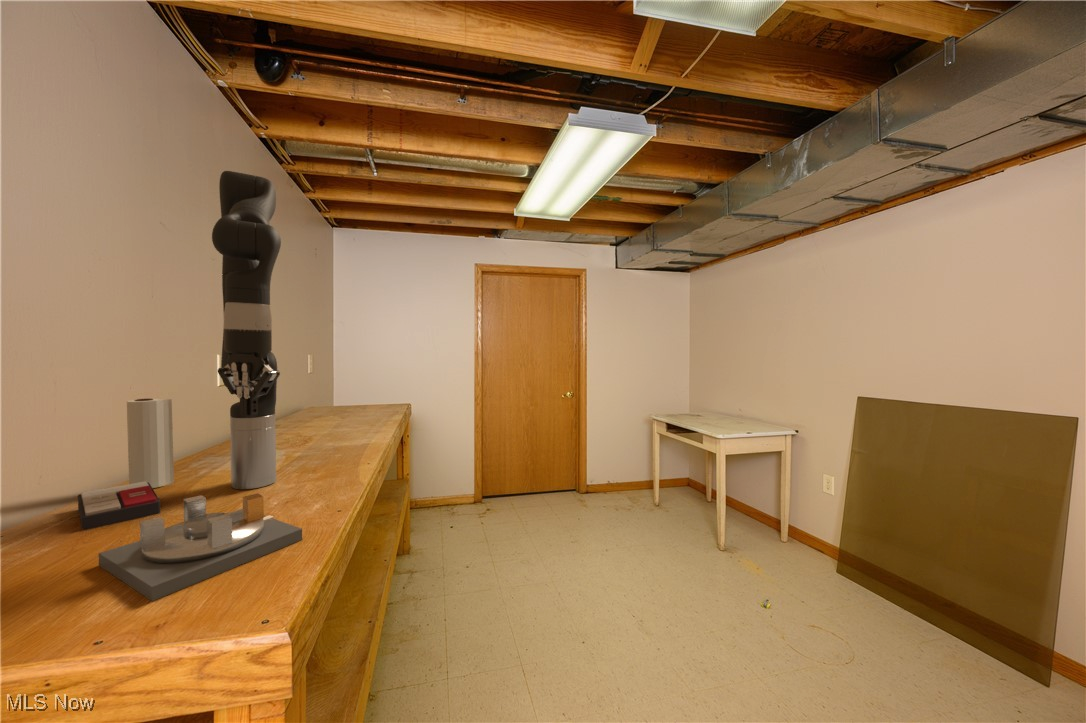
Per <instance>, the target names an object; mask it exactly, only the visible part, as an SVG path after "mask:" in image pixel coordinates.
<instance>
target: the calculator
mask: <svg viewBox="0 0 1086 723" xmlns="http://www.w3.org/2000/svg"><path fill="white" fill-rule="evenodd" d="M77 508H78V515H79V519H80V520H79V522H80V526H81V530H82V531H86V530H87V531H88V530H91V529H96V528H101V527H106V526H109V525H114V524H119V523H123V522H127V521H132V520H136V519H141V518H145V517H150V516H154V515H160V514H161V500H160V498H159V497H158V496H157V493H156V492H155V490H154V488H152V487H151V485H150V483H149V482H140V483H134V484H129V483H128V484H124V485H117V486H112V487H107V488H101V489H95V490H91V491H84V492H81V493H80V494H78V495H77Z"/></svg>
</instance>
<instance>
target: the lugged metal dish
mask: <svg viewBox="0 0 1086 723" xmlns="http://www.w3.org/2000/svg"><path fill="white" fill-rule="evenodd" d="M182 500H183V521H181V522H179V523H175V524H173V525H170V526H168V527H165V520H164V518H163V517H162V516H157V517H153V518H149V519H144V520H141V521H139V533H140V534H139V537H140V540H139V541H140V544H141V548H142V557H143V558H144V559H146V560H148V561H152V562H158V563H174V562H184V561H191V560H197V559H202V558H206V557H210V556H214V555H218V554H221V553H224V552H227V551H230V550H233V549H235V548H238V547H240V546H242V545H245V544H247V543H248V542H250V541H252V540H254V539H255V538H256V537H258V536H259V535H260V534H261V533H262V531H263V529H264V520H263V518H264V512H265V511H264V510H265V508H264V496H263V495H261V494H260V493H259V492H258V493H254V494H249V495H246V496H245V495H244V496H242V509H243V513H231V512H211V513H207V497H205V496H203V495H202V494H200V495H197V496H192V497H187V498H183V499H182Z"/></svg>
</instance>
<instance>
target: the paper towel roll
mask: <svg viewBox="0 0 1086 723" xmlns="http://www.w3.org/2000/svg"><path fill="white" fill-rule="evenodd" d="M126 422H127V452H128V456H127V457H128V458H127V459H128V484H134V483H140V482H149V483H150V485H151V487H152V488H153V489H157V488H160V487H164V486H168V485H174V483H175V475H174V474H175V473H174V472H175V471H174V467H175V466H174V437H173V436H174V435H173V433H174V432H173V398H168V399H160V398H137V399H132V400H127V401H126Z"/></svg>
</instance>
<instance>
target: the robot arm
mask: <svg viewBox="0 0 1086 723" xmlns="http://www.w3.org/2000/svg"><path fill="white" fill-rule="evenodd" d="M218 186H219V188H218V189H219V202H220V216H221V217H220V218H219V219H218V220H217V221H216V222H215V224H214V226H213V229H212V233H211V241H212V243H213V247H214V248H215V250H216V251H217V252H218V253H219V254H221V255H222V262H221V264H222V266H221V267H222V268H221V270H222V271H221V274H222V275H221V277H222V278H221V283H222V284H221V287H222V289H221V290H222V303H223V307H222V308H223V309H222V310H223V332H222V346H221V348H222V349H221V362H220V367H218V369H217V374H218V375H219V376H220V378H221V380H222V383H223V385H224V386H225V387H226V388H227V391H228V392H229V393H230V394H231V395H236V397H237V398H238V399H239V401H237V402H235V403H233V404H232V405H231V406H230V409H229V416H230V419H229V421H230V422H229V423H230V424H229V425H230V481H231V488H233V489H235V490H250V489H252V490H253V489H257V488H264V487H267V486H269V485H270V486H271V485H272V484H274V483H276V481H277V446H276V445H277V444H276V442H277V441H276V439H277V438H276V405H277V387H278V386H277V384H278V379H279V377H280V375H281V372H280V371H279V370H278V364H277V363H278V362H277V358H276V356H275V354H274V353H273V351H272V350H273V349H272V347H273V346H272V341H273V340H272V335H273V333H272V328H273V327H272V325H273V324H272V322H273V321H272V311H271V306H270V305H271V281H272V276H273V270H274V268H275V265H276V261H277V258H278V256H279V252H280V250H281V244H282V239H281V236H280V233H279V232H278V230H277V229H276V228H275V227H274V226H272V225H270V221H271V220H272V218H273V216H274V214H275V212H276V205H277V194H276V188H275V185H274V184H273V182H272V181H271V180H269V179H268V178H266V177H262V176H258V175H255V174H254V175H253V174H249V173H244V172H237V171H232V170H224V171H222V172H221V174H220V177H219V183H218Z"/></svg>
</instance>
